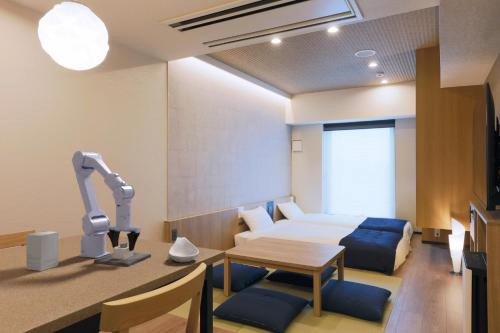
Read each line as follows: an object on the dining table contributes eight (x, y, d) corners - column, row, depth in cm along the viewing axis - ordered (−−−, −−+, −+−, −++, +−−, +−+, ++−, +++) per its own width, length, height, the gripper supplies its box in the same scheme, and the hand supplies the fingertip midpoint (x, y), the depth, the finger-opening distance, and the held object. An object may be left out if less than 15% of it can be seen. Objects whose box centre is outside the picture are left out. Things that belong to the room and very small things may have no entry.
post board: (94, 262, 127) (94, 245, 127) (118, 253, 141) (118, 238, 141) (129, 266, 123) (129, 248, 123) (151, 256, 136) (151, 240, 136)
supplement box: (59, 265, 123) (59, 231, 123) (40, 271, 116) (40, 235, 116) (44, 263, 125) (44, 230, 126) (25, 269, 118) (25, 234, 119)
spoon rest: (201, 263, 127) (201, 245, 127) (170, 266, 123) (170, 247, 123) (192, 249, 150) (192, 233, 150) (165, 251, 146) (165, 235, 146)
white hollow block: (112, 258, 130) (112, 248, 130) (122, 254, 135) (122, 245, 135) (124, 259, 128) (124, 249, 128) (133, 255, 133) (133, 246, 133)
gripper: (101, 216, 130) (101, 250, 130) (132, 217, 126) (132, 253, 126) (113, 213, 137) (113, 246, 137) (143, 215, 133) (143, 249, 132)
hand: (123, 249), depth 132 cm, fingers open, 7 cm apart
